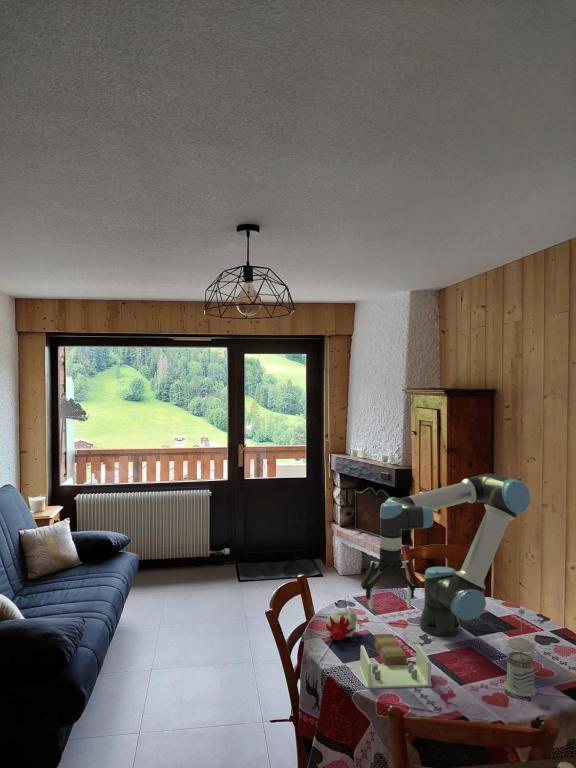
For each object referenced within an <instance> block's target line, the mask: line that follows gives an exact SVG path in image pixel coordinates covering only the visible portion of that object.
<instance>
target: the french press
mask: <svg viewBox="0 0 576 768" xmlns="http://www.w3.org/2000/svg"><path fill="white" fill-rule="evenodd" d="M517 612H518V613H519V614H520V631H522V625H523V624H522V623H523V622H522V621H523V620H522V619H523V618H522V615H523V614H525V610H524V609H523V608H519V609H518V610H517ZM506 644H507V645H508V647H509V648H510V649H512V650H515V651H511V652H509V653H508V655H507V662H506V663H507V664H506V667H507V668H506V680H505V681H504V682H503V688H504V689H505V690H507V692H509V693H511V694H513V695H516V696H520V697H525V696H527V697H528V696H529V697H532V696H531V695H534V694H535V693H536V690H537V688H536V687H535V686H534V683H535V682H534V677H535V674H536V673H537V672H539V671H540V670H541V669H542V665H543V656H542V654H541V652H539V650H537V649H536V646H535V645H534V643H533V642H531V641H530V640H528V639H526V638H523V637H513V638H510V639H507V641H506ZM530 652H531V654H532V655H533V654H535V652H536V653H537V655H538V657H540V658H541V660H540V659H538V661H537V664H536V666H535V665H534V663H533V661H534V659H533V657H532V656H531V655H530V654H527V653H530ZM540 661H541V663H540ZM539 663H540V666H539ZM538 666H539V667H538ZM537 667H538V669H537ZM535 669H537V670H535ZM536 694H537V693H536ZM536 694H535V695H536ZM535 695H534V696H535Z"/></svg>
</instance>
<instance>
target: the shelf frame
mask: <svg viewBox="0 0 576 768" xmlns="http://www.w3.org/2000/svg"><path fill="white" fill-rule="evenodd" d="M415 647H416V651H415V654H416V655H415V664H414V663H412V662H409V663H408V664H406V665H389V666H385V665H378V663H377V664H376V663H373V664H372V662H371V660H370V657H369V654H368V653H367V650H366V648H365V646H364V645H360V650H359V651H360V657H359V659H360V660H359V661H360V662H359V666H358V669H359V672H360V676H361V677H362V680H363V683H364V685H365V688H366V689H385V688H386V689H389V688H390V689H392V688H395V689H396V688H419V687H420V688H422V687H423V688H426V687H429V688H430V687H433V684H432V678H431V677H432V661H431V660H430V659H429V657H428V655H427V654H426V652H425V651H424V650H423V647H422V646H421V644H420V643H416V646H415Z"/></svg>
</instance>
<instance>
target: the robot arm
mask: <svg viewBox="0 0 576 768" xmlns="http://www.w3.org/2000/svg"><path fill="white" fill-rule="evenodd" d="M530 502H531V494H530V492H529V489H528V486H527V485H526V484H525V482H522V481H520V480H518V479H515V478H513V477H512V478H511V477H507V476H503V475H500V474H495V473H484V474H479V475H476V476H475V475H474V476H472V477H468V478H464V479H462V480H461V482H459V483H455V484H450V485H447V486H443V487H440V488H439V487H438V488H436V489H435V488H434V489H431V490H428V491H425V492H422V493H416V494H413V495H409V496H405V497H401V498H399V497H394V496H392V497H389V498H387V499H386V500H385V502H383V503H382V504H381V505H380V510H379V546H380V547H379V560H378V561H374V560H370V562H369V567H368V569H367V571H366V573H365V575H364V577H363V579H362V581H361V583H360V586H361V588H362V589H363V590H365V597H366V600H368V608H369V611H370V610H371V611H373V608H374V607H373V606H374V605H373V601H374V600H373V594H374V591H373V590H372V589H373V588H374V586H375V585H376V584H377V583H378V582H379V580H380V579H381V578H382V577H384V575H386V576H389V575H392V576H395V575H397V574H398V576H399V577H400V578H401V579H402V580H403V582H405V584H406V585H407V586H408V587H406V607H407V608H408V610H411V609H412V599H414V597H415V591H416V589H419V588H420V585H419V582H418V580H417V578H416V576H415V574H414V572H413V569H412V566H411V562H410V561H409V560H408V559H406V560H405V561H402V545H403V544H402V541H403V540H402V539H403V538H402V536H403V535H402V534H403V533H402V532H403V531H408V530H420V529H421V530H423V529H427V528H430V527H432V526H433V524H434V522H435V521H434V520H435V516H434V513H433V512H434V511H438V510H441V509H444V508H448V507H452V506H455V505H456V506H457V505H459V504H460V505H461V504H463V503H469V504H474V503H484V504H483V505H484V506H483V507H484V508H485V513H484V515H483V518H482V521H481V522H480V524H479V527H478V529H477V532H476V534H475V536H474V538H473V540H472V542H471V545H470V547H469V550H468V552H467V555H466V557H465V559H464V561H463V564H462V566H461V568H460V569H459V570H457V571H456V569H454V568H452V567H448V566H447V567H446V566H432V567H428V568H426V570H425V572H424V578H423V579H424V606H423V608H422V611H421V614H420V618H419V627H420V629H421V630H422V631H424V632H426V634H427V633H428V634H430V635H433V636H437V637H438V636H439V637H452V636H456V635H458V634H459V633H460V630H461V627H460V626H461V624H460V620H459V618H460V619H462V620H464V621H473V620H474V619H477V618H479V617H480V616H481V615H482V614H483V613H484V611H485V609H486V607H487V606H486V605H487V600H486V597H485V595H484V592H485V590H486V586H485V583H484V581H485V579H486V576H487V574H488V572H489V570H490V567H491V565H492V562H493V559H494V558H495V556H496V553H497V551H498V548H499V546H500V544H501V541H502V539H503V536H504V534H505V532H506V529H507V527H508V525H509V523H510V522H511V521H514V520H516V518H517V515H518V514H522V513H523V512H525V511H527V509H528V507H529V505H530ZM377 567H379V569H378V570H377V572H376V573H375V574H374V572H375V571H376V570H375V569H376V568H377ZM402 567H403V568H405V569H406V570H407V573H408V575H409V577H410V579H411V581H412V583H411V582H410V580H409V579H408V578H407V576H405V574H404V573H403V572H402V570H401V569H402ZM373 574H374V576H373ZM372 576H373V577H372Z"/></svg>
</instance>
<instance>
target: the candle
mask: <svg viewBox="0 0 576 768" xmlns="http://www.w3.org/2000/svg"><path fill="white" fill-rule="evenodd" d="M357 621H358V616H357V614H356V613H355V612H354V611H351V610H348V611H346V610H337V611H335V612H333V613H331V614H330V615H328V617H327V619H326V623H325V629H327V632H328V633H329V635H330V637H331V638H332V639H333V640H334V641H340V640H343V639H346V638H347V637H349V638H352V637H353V636H354V633H355V631H356V627H357Z"/></svg>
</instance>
